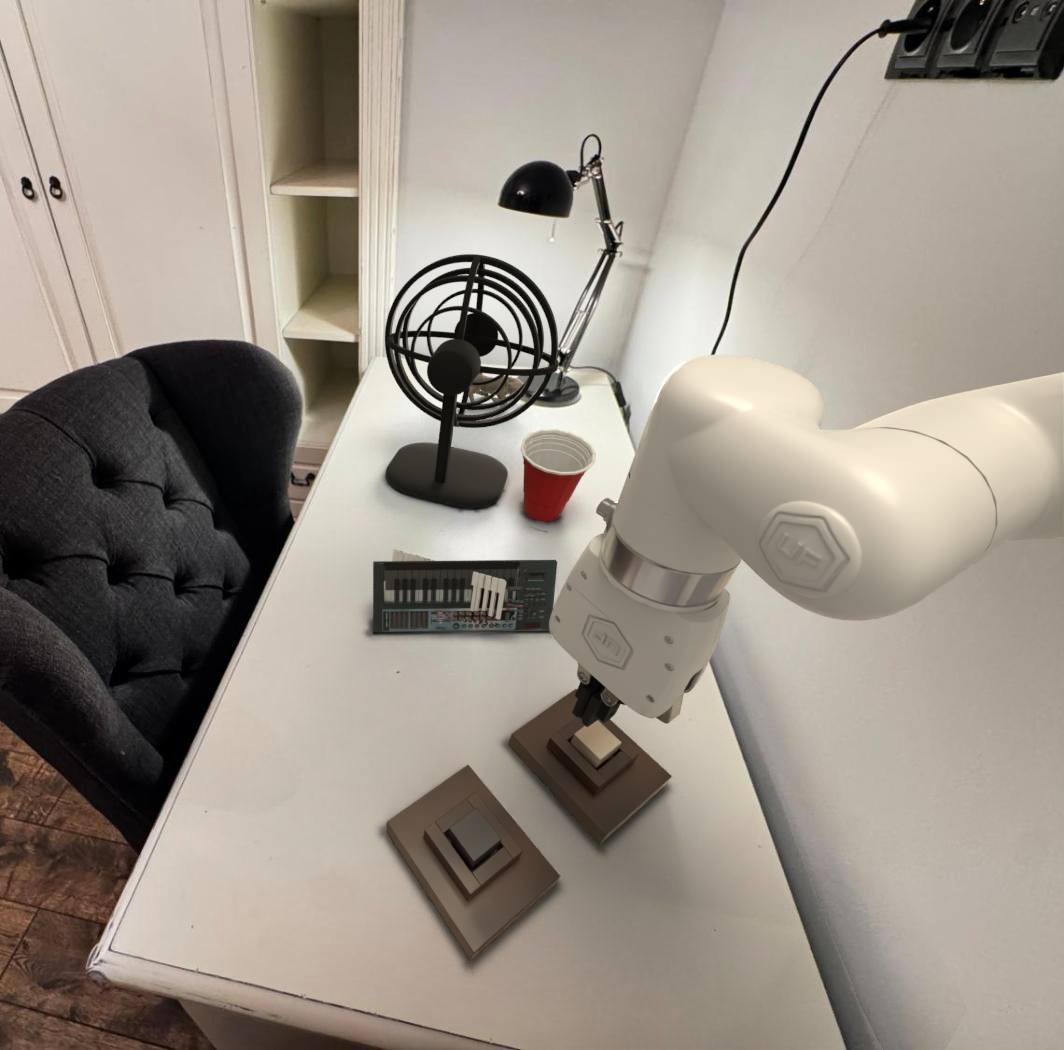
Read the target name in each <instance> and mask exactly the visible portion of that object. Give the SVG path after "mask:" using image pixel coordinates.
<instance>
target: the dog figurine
mask: <svg viewBox="0 0 1064 1050" xmlns="http://www.w3.org/2000/svg"><path fill="white" fill-rule="evenodd" d="M494 377H495V376H488V375H485V374H484V373H479V374H478V376H477V377H476V379H475V380H474V381H485V380H489V379H492V378H494ZM504 377H505V375H504V376H503V377H502V378H500V379H498V380H496V381H494V382H492V383H489V384H485V385H471V386H470V391H469V396H468V400H469V402H475V401H476V400H475V397H474V395H475V394H476V395H480V396H481V397H484V398H486V397H487V396H489V395H490V394H492V393H493V392H494V391H495V390H496V389H497V388H498V387H499V386H500V384H501V383H502V381H503V380H504ZM523 383H524V382H523V381H521V380H520V379H519V378H517V377H516V376H508V379H507V381H506V382H505V384H504V386H503V387H502V389H501V390H500V391H499V392H498V393H497V394H496V395H495V396H496V397H493V398H491V399H490V400H491V401H492V402H495V401H498V400H500V399H503V398H505V397H507V396H508V395H510V394H511V393H513V392H514V391H516V390H517V389H518V388H519V387H520V386H521V385H522V384H523ZM526 397H527V395H526V393H525V394H524V396H523V397H522V398H526ZM507 403H508V402H507ZM507 403H505V404H503V405H500V406H499V408H501V407H502V406H504V405H506V404H507Z"/></svg>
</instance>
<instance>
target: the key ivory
mask: <svg viewBox="0 0 1064 1050" xmlns="http://www.w3.org/2000/svg"><path fill="white" fill-rule="evenodd" d="M570 743H571V744H572V745H573V746H574V747H575V748H576V749H577V750H578V751H579V752H580V753H581V754H582V755H583V756H584V757H585V758H586V759H587V760H588V761H589V762H590V763H591V764H592V765H593V766H594V767H595V768H597V767H598V766H599V765H601V764H602V763H603V762H604V761H606V760H607V759H608V758H609V757H611V756H612V755H613V754H614V753H615V752H617V750H618V748H619V746H620V745H621V741H619V740H618V739H617V738H616V737H615V736H614V735H613V734H612V733H611V732H610V731H609V730H608V729H607V728H605V727H604V726H603V725H602V724H601V723H600V722H599V721H598V720H597V721H596V722H594V723H593V724H592V725H590V726H589V727H586V726H584V727H583V728H581V729H580V730H579V731H577V732H576V733H575V734H574V736H573V738H572V740H571V742H570Z"/></svg>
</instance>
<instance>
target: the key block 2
mask: <svg viewBox="0 0 1064 1050" xmlns="http://www.w3.org/2000/svg"><path fill="white" fill-rule="evenodd" d="M577 689H578V688H575V689H573V690H571V691H570V692H569V693H568V694H566V695H565V696H563V697H561V698H560V699H559V700H558V701H556V702H555V703H553V704H552V705H551V706H549V707H547V708H546V709H544V710H543V711H542V712H540V713H539V714H537V715H536V716H535V717H533V718H532V719H530V720H529V721H527V722H526V723H525V724H523V725H522V726H521V727H519V728H517V729H516V730H515V731H513V732H512V733H511V736H510V738H509V741H508V746H509V747H510V748H511V749H512V750H513V751H514V752H515V754H517V756H518V757H519V758H520V759H521V760H522V761H523V762H524V763H525V764H526V766H527V767H528V768H529V769H530V770H531V771H532V772H533V774H535V776H537V778H538V779H539V780H540V781H541V782H542V784H544V785H545V786H546V787H547V789H548V790H549V791H550V792H551V793H552V794H553V796H554V797H555V798H556V799H557V800H558V801H559V802H560V803H561V804H562V805H563V806H564V807H565V808H566V810H567V811H568V812H569V813H570V814H571V816H573V817H574V819H576V821H577V822H578V823H579V824H580V825H581V826H582V827H583V828H584V830H586V832H587V833H588V834H589V835H590V836H591V837H592V838H593V840H594V841H595V842H596V843H597V844H598V845H601V844H602V843H604V841H606V840H607V839H608V838H609V837H610V836H611V835H612V834H614V833H615V832H616V831H617V830H618V829H619V828H620V827H622V825H624V824H625V823H626V822H627V821H628V820H629V819H630V818H632V817H633V815H635V814H636V813H637V812H638V811H639V810H641V808H642V807H644V806H645V805H646V804H647V803H648V802H649V801H651V799H652V798H654V797H655V796H656V795H657V794H658V793H659V792H660V791H661V790H663V789H664V788H665V786H666V785H667V784H668V783H669V781H670V780H671V778H672V777H673V776H672V774H670V773H669V772H668V771H667V770H666V769H665V768H664V767H663V766H662V765H661V764H659V763H658V762H657V761H656V760H655V759H654V758H653V757H652V756H651V755H650V754H649V753H647V752H646V750H644V748H642V747H641V746H640V745H639V744H637V742H635V741H634V740H633V739H632V738H631V737H630V736H629V735H628V734H627V733H626V732H624V730H623V729H621V728H620V727H619V726H618V725H617V724H616V723H615V722H613V721H612V720H611V719H610V720H608V721H607V722H605V723H603V722H602V721H601V720H600V719H598V721H599V722H600V723H601V724H602V725H603V726H604V727H605V728H607V729H608V730H609V731H610V732H611V733H612V734H613V735H614V736H615V737H616V738H617V739H618V740H619V741H621V745H620V746H619V748H618V750H617V752H615V753H614V754H613V755H612V756H611V757H609V758H608V759H607V760H606V761H604V762H603V763H602V764H601V765H599V766H598V767H597V768H595V767H594V766H593V765H592V764H591V763H590V762H589V761H588V760H587V759H586V758H585V757H584V756H583V755H582V754H581V753H580V752H579V751H578V750H577V749H576V748H575V747H574V746H573V745H572V744H571V743H570V742H571V740H572V738H573V736H574V734H575V733H576V732H577V731H579V730H580V729H581V728H583V727H584V726H585V725H584V724H583V723H582V720H581V718H582V717H581V718H579V717H576V716H575V715H574V714H573V713H572V711H573V709H574V706H575V704H576V702H577V698H576V697H575V694H576V691H577Z"/></svg>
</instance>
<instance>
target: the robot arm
mask: <svg viewBox="0 0 1064 1050" xmlns="http://www.w3.org/2000/svg"><path fill="white" fill-rule="evenodd" d="M824 415H825V403H824V399H823V397H822V394H821V393H820V391H819V389H818V388H817V387H816V386H815V385H814V384H813V383H812V381H810V380H809V379H807V378H806V377H805V376H803V375H801V374H800V373H798V372H796V371H794V370H792V369H790V368H787V367H785V366H783V365H779V364H777V363H774V362H771V361H767V360H764V359H761V358H760V359H759V358H755V357H751V356H745V355H735V354H734V355H733V354H706V355H699V356H697V357H693V358H690V359H687V360H685V361H682V362H681V363H679V364H678V365H677V366H675V367H674V368H673V369H672V370H671V371H670V372H669V373H668V374H667V375H666V377H665V378H664V379H663V381H662V383H661V385H660V387H659V390H658V392H657V394H656V397H655V398H654V401H653V405H652V407H651V410H650V413H649V415H648V418H647V421H646V423H645V426H644V429H643V431H642V434H641V437H640V440H639V442H638V445H637V448H636V450H635V452H634V453H635V454H634V456H633V459H632V462H631V465H630V467H629V470H628V472H627V475H626V478H625V481H624V483H623V487H622V489H621V491H620V492H621V493H620V494H619V498H618V500H617V501H614V500H612V499H611V498H610V497H605V498H603V499H602V500H601V501H600V502H599V504H598V505H597V507H596V508H595V513H596V514H597V515H598V516H600V517H601V518H602V519H603V521H604V522H605V525H606V526H605V528H604V531H603V533H600V534H598V535H596V536H594V537H593V538H592V539H591V540H590V541H589V542H588V544H587V545H586V547H585V548H584V549H583V551H582V553H581V554H580V556H579V557H578V559H577V560H576V562H575V564H574V565H573V567H572V569H571V571H570V572H569V574H568V575H567V578H566V579H565V581H564V584H563V586H562V587H561V590H560V592H559V594H558V596H557V598H556V601H555V602H554V605H553V610H552V613H551V616H550V620H549V630H548V631H549V633H550V635H551V637H552V638H553V639H554V641H555V642H556V643H557V644H558V646H560V647H561V649H563V650H564V652H566V653H567V654H568V655H569V656H570V657H571V658H572V659H573V660H575V661H576V662H577V671H576V677H577V679H578V680H579V684H578V686H577V688H576V689H577V691H576V694H575V697H576V698H577V702H576V704H575V706H574V709H573V711H572V713H573V714H574V715H575V716H576V717H579V718H581V717H582V718H581V720H582V723H583V724H584V725H585V726H586V727H589V726H590V725H592V724H593V723H594V722H596V721H597V720H598V719H600V720H601V721H602V722H603V723H605V722H607V721H608V720H611V719H612V718H613V717H614V716H615V715H616V714H617V712H618V710H619V708H620V706H621V705H622V706H627V707H628V708H629V709H631V710H632V711H633V712H635V713H636V714H638V715H640V716H641V717H644V718H647V719H657V720H658V721H660V722H661V723H663V724H669V723H671V722H672V721H674V720H675V719H676V718H677V717H678V716H680V714H681V711H682V705H683V699H684V695H685V694H689V693H690V692H691V691H692V690H693V689H694V688H695V687H696V686H697V684H698V682H699V681H700V680H701V678H702V677H703V674H704V672H705V671H706V669H707V667H708V665H709V663H710V661H711V659H712V656H713V654H714V652H715V650H716V648H717V645H718V643H719V641H720V638H721V635H722V632H723V630H724V629H723V628H724V627H725V622H726V619H727V615H728V611H729V606H730V601H731V594H730V592H729V591H728V590H727V588H726V587H727V586H728V584H729V583H730V581H731V579H732V577H733V575H734V574H735V572H736V571H737V569H738V567H739V565H740V564H741V562H742V561H743V562H744V563H745V565H747V566H748V567H749V568H750V569H751V570H752V571H753V572H754V573H755V574H756V575H757V576H758V577H759V578H760V579H761V580H762V581H764V583H765V584H767V586H769V587H770V588H772V589H773V590H774V591H775V592H776V593H778V594H779V595H781V596H782V597H783V598H785V599H786V600H788V601H790V602H792V603H793V604H795V605H796V606H798V607H799V608H802V609H804V610H806V611H808V612H811V613H813V614H815V615H818V616H822V617H825V618H829V619H833V620H840V621H849V622H850V621H851V622H863V621H871V620H872V621H873V620H879V619H882V618H886V617H889V616H893V615H896V614H897V613H899V612H902V611H904V610H906V609H909V608H910V607H914V606H916V604H918V603H920V602H921V601H923V600H924V599H926V598H927V597H929V596H930V595H932V594H934V593H935V592H937V590H940V588H942V587H944V586H945V585H946V584H948V583H949V582H951V581H952V580H954V579H955V578H956V577H958V576H960V575H961V574H962V573H964V572H965V571H966V570H968V569H970V568H971V567H972V566H973V565H975V564H976V563H978V562H980V561H981V560H982V559H984V558H985V557H987V556H989V555H990V554H991V553H993V552H994V551H996V550H997V549H999V548H1000V547H1002V546H1003V545H1005V544H1006V543H1007V542H1015V541H1028V540H1029V541H1030V540H1057V539H1059V540H1060V539H1064V371H1063V372H1058V373H1052V374H1048V375H1043V376H1037V377H1031V378H1028V379H1027V378H1026V379H1022V380H1018V381H1013V382H1007V383H1002V384H997V385H992V386H991V385H990V386H986V387H981V388H977V389H971V390H967V391H962V392H958V393H954V394H949V395H945V396H940V397H937V398H933V399H928V400H924V401H920V402H917V403H913V404H911V405H908V406H905V407H902V408H900V409H897V410H895V411H894V410H893V411H892V412H889V413H886V414H884V415H882V416H879V417H876V418H874V419H872V420H869V421H867V422H865V423H863V424H860V425H858V426H856V427H855V426H854V427H853V428H850V429H821V428H820V427H821V426H822V423H823V420H824Z"/></svg>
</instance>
